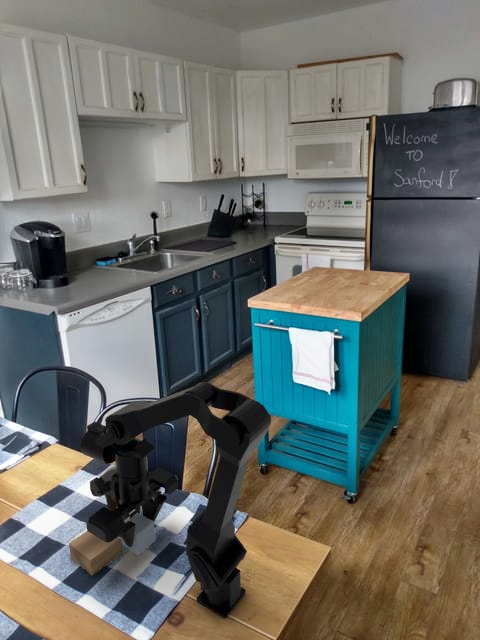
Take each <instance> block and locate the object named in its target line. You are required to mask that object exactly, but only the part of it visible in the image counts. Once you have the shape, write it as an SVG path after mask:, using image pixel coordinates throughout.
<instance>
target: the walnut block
mask: <svg viewBox="0 0 480 640" xmlns="http://www.w3.org/2000/svg"><path fill="white" fill-rule="evenodd" d="M68 547H69V555H70V559H71V560H72V561H73V562H74V563H76V564H77V565H78V564H79V565H80V566H81V567H82V568H81V567H80V568H81V569H82V570H84V569H85V570H86V571H87V572H88V573H87V572H86V571H85V570H84V571H85V572H86V573H87V574H88V575H90V576H91V575H92V576H93V575H94V574H95V573H97V572H98V571H99V572H101V571H102V570H103V569H104V568H103V567H105V566H106V565H107V564H109V563H110V562H111V561H113V560H114V559H115V560H117V559H118V558H119V557H121V556H122V555H123V545H122V537H120V536H118V537H117V538H115V539H114V540H113V541H112V542H107V543H106V542H105V541H103V540H101V539H100V538H98V537H96V536H95V535H93V534H91V533H90V532H88V531H87V530H86V531H84V532H83V533H82V534H81V535H79V536H77V537H76V538H74V539H73V540H71V541H70V542H68ZM121 554H122V555H121ZM120 555H121V556H120ZM118 556H119V557H118ZM117 557H118V558H117ZM116 558H117V559H116ZM115 560H114V561H115ZM114 561H113V562H114ZM111 563H112V562H111ZM111 563H110V564H111ZM110 564H109V565H110ZM79 565H78V566H79ZM107 566H108V565H107ZM107 566H106V567H107ZM106 567H105V568H106ZM102 568H103V569H102ZM101 569H102V570H101ZM100 570H101V571H100ZM99 572H98V573H99ZM98 573H97V574H98ZM95 575H96V574H95ZM95 575H94V576H95ZM92 576H91V577H92ZM94 576H93V577H94Z"/></svg>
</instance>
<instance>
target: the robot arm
mask: <svg viewBox="0 0 480 640" xmlns="http://www.w3.org/2000/svg"><path fill="white" fill-rule="evenodd" d="M210 407H211V408H213V409H218V410H223V411H228V413H226V414H225V415H223V416H222V417H221V418H220V417H218V416H217V415H215V414H213V412H212V410H211V409H210ZM189 416H191V417H192V418H193V419H195V420H196V421H197V422H198V424H199V426H200V427H201V429H202V431H203V432H204V433H205V434H206V436H208V437H209V438H211V439H212V440H214V441H215V442H214V445H215V448H216V450H217V452H218V454H219V458H218V462H217V466H216V468H215V469H216V470H215V473H214V477H213V481H212V485H211V488H210V492H209V495H208V500H207V502H206V507H205V510H203V511H202V512H201V513H200V515H198V516H197V517H196V519H195V520H194V521H192V523H190V524H189V525H188V528H187V530H186V539H185V541H183V543H182V544H183V545H184V546H185V553H186V554H185V555H186V557H187V559H188V563H189V566H190V569H191V571H192V575H193V577H194V579H195V581H196V582H198V583H200V584H199V585H200V591H201V592H200V593H199V594H198V595H197V597H196V602H197V603H199V604H201V605H202V606H204V607H206V608H207V609H209V610H210V611H212V612H213V613H215V614H217V615H218V616H220V617H221V618H223V619H225V618H227V617H228V616H230V614H231V612H232V611H233V610H234V609H235V607H236V606H237V605H238V603H239V602H240V601H241V600H242V599H243V598H244V597H245V595H246V594H247V593H246V589H245V588H244V587H242V586H241V570H240V569H239V568H238V566H239V565H240V563H241V562H242V561H243V560H244V559H245V557H246V555H247V553H248V550H247V549H246V548H245V546H244V545H243V544H242V542H241V541H240V540H239V538H238V537H237V535H236V534H235V532H236V526H235V524H234V522H233V515H234V512H235V509H236V506H237V502H238V499H239V495H240V492H241V489H242V485H243V482H244V478H245V476H246V472H247V469H248V465H249V461H250V458H251V457H252V456H253V455H254V452H255V451H256V449H257V448H258V447H259V445H260V444H261V442H262V441H263V439H264V437H265V435H266V434H267V433H268V431H269V430H270V428H271V427H270V426H271V424H272V417H271V414H270V413H269V411H268V410H267V408H266V407H265V406H264V405H263V404H262V403H261V402H259V401H258V400H256V399H251V398H250V397H249V396H246V395H245V394H244V393H241V392H237V391H233V390H228V389H224V388H219V387H217V386H216V385H213V384H212V383H210V382H208V381H205V382H204V381H203V382H199V383H197V384H196V385H194V386H192V387H189V388H186V389H184V390H181V391H179V392H176V393H173V394H171V395H168V396H165V397H162V398H160V399H157V400H154V401H149V402H148V401H147V400H139V401H132V402H129V403H128V404H127V405H125V406H123V407H121V408H120V409H117V410H116V411H114V412H113V413H110V414H109V415H107V416H106V417H105V419H104V421H105V425H104V424H101V422H97V421H93V422H91V423H89V424H88V425H87V426H86V429H87V431H85V433H84V435H83V436H82V439H81V442H80V445H79V447H80V449H79V450H80V452H81V453H82V454H83V455H84V456H87V457H89V458H91V459H94V460H96V461H99V462H101V463H104V464H106V465H110V464H112V463H114V462H115V463H114V465H116V469H112V470H110V471H108V472H107V473H105V474H104V475H102V474H101V475H102V476H101V475H100V476H99V477H98V476H97V477H95V478H93V479H91V480H90V481H89V490H90V492H91V495H92V496H93V497H99V498H100V497H102V496H104V497H105V495H111V499H112V500H113V501H115V502H116V501H120V504H118V505H117V506H116V507H117V508H116V509H115V510H114V511H111V510H109V509H108V507H105V506H103V507H101V508H100V509H99V510H97V511H96V512H95V513H93V514H92V515H90V516H89V517H88V518H86V519H85V520H86V522H85V525H86V531H88V532H90V533H91V534H93V535H95V536H96V537H98V538H100V539H101V540H103V541H105V542H106V543H107V542H112V541H113V540H114V539H115V538H117V537H120V538H121V539H122V538H123V540H124V542H125V543H126V545H127V546H129V547H132V545H133V540H134V532H135V525H136V524H135V523H133V522H131V521H130V514H131V513H132V512H134V511H135V510H137V509H138V508H140V509H141V513H142V514H141V515H143V516H145V517H147V518H148V519H150V520H152V521H154V523H155V521H156V519H157V518H158V515H159V514H160V511H161V510H162V508H163V506H164V504H165V503H166V502H167V500H168V496H166V495H164V494H163V491H162V488H163V489H164V493H165V494H167V495H169V496H170V495H172V494H174V492H176V490H178V489H179V486H180V485H179V478H178V476H177V475H176V474H174V473H171V472H169V471H167V470H165V469H162V468H161V467H158V468H156V469H154V470H153V471H150V470H149V466H148V465H149V464H148V457H147V456H149V455H150V454H151V453H153V452H154V451H155V450H156V447H155V446H154V444H153V443H151V442H149V441H148V440H147V439H146V438H144V439H140V438H138V436H140V435H142V434H143V433H144V432H145V431H147V430H149V429H153V428H156V427H159V426H162V425H165V424H168V423H170V422H174V421H177V420H180V419H184V418H187V417H189Z"/></svg>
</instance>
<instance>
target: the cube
mask: <svg viewBox="0 0 480 640" xmlns="http://www.w3.org/2000/svg"><path fill="white" fill-rule="evenodd" d="M130 521H131V522H133V523H135V524H136V525H135V532H134V540H133V545H132V547H129V546H127V545H126V543H125V542H124V540H123V538H122V537H121V545H122V547H125V548H126V549H128V550H130V551H131V552H133V553H135V554H137V555H138V556H140V555H141V554H142V553H143V552H144V551H145V550H147V548H148V547H150V546H151V545H152V544H154V542H156V531H155V530H156V529H155V528H156V527H155V522H154V521H152V520H150V519H148V518H147V517H145V516H143V514H141V513H140V514H139V513H136V514H135V515H134V516H133V517H131V518H130Z"/></svg>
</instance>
